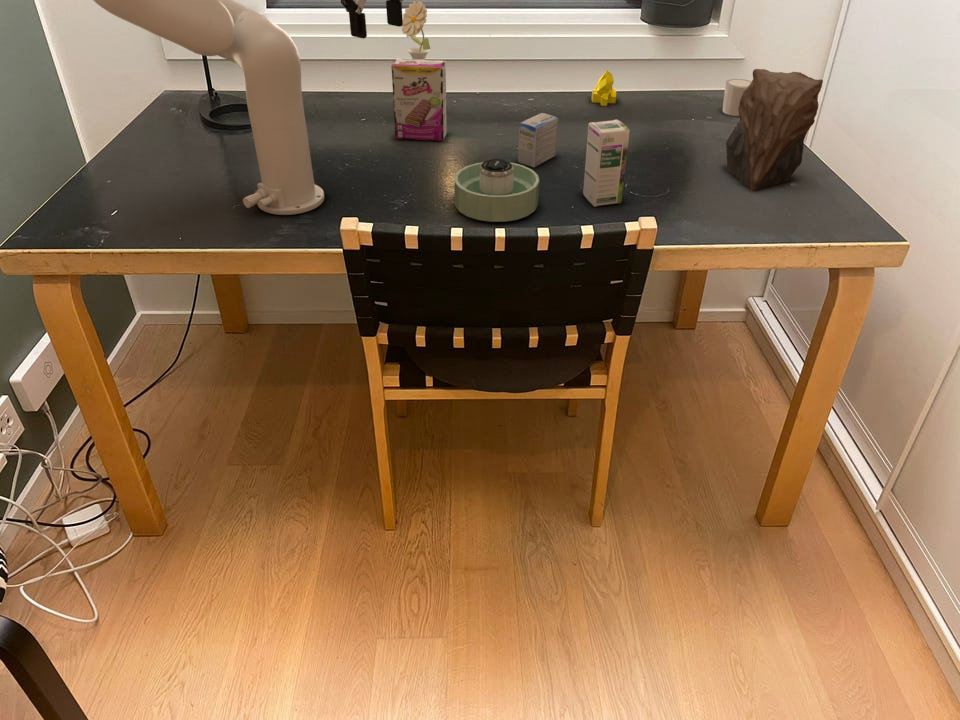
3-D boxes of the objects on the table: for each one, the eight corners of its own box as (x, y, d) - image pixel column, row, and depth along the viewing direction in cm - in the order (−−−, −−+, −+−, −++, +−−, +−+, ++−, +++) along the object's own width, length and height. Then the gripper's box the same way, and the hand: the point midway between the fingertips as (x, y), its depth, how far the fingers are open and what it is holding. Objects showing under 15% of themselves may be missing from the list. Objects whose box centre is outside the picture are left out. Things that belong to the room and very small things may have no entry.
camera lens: (475, 208, 139) (475, 168, 134) (483, 193, 144) (484, 154, 139) (508, 211, 138) (510, 171, 133) (515, 197, 143) (517, 157, 138)
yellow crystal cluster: (614, 95, 192) (618, 64, 187) (615, 106, 185) (619, 74, 181) (591, 94, 192) (594, 63, 187) (591, 105, 186) (595, 73, 181)
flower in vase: (393, 103, 186) (386, -6, 171) (437, 99, 189) (434, -9, 174) (405, 121, 176) (398, 7, 161) (451, 116, 179) (449, 3, 164)
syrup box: (593, 207, 141) (601, 132, 132) (581, 194, 145) (588, 120, 137) (621, 203, 142) (631, 129, 133) (608, 190, 147) (617, 117, 138)
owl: (718, 166, 156) (739, 67, 144) (772, 160, 159) (796, 62, 147) (750, 191, 147) (775, 87, 135) (807, 184, 149) (836, 82, 137)
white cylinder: (714, 109, 184) (719, 80, 179) (736, 105, 186) (742, 76, 182) (732, 118, 179) (738, 88, 174) (755, 114, 181) (761, 85, 177)
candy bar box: (395, 140, 167) (389, 64, 157) (399, 132, 171) (394, 57, 161) (444, 142, 166) (442, 66, 156) (447, 134, 170) (445, 59, 160)
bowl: (508, 232, 133) (509, 204, 129) (438, 210, 140) (437, 182, 136) (552, 201, 143) (554, 174, 140) (485, 181, 150) (485, 155, 147)
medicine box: (539, 151, 162) (541, 112, 157) (556, 156, 160) (559, 116, 155) (517, 163, 157) (518, 122, 152) (534, 168, 155) (536, 127, 150)
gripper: (386, -88, 130) (392, 18, 140) (314, -76, 119) (327, 38, 129) (420, -84, 126) (424, 24, 137) (350, -71, 115) (360, 45, 126)
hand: (377, 31), depth 133 cm, fingers open, 9 cm apart
